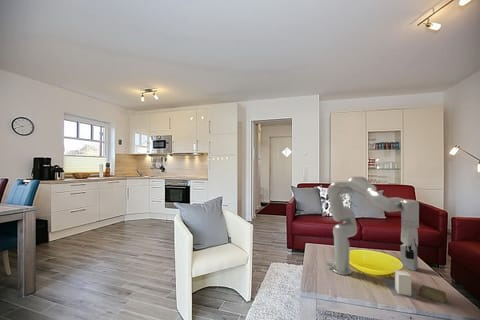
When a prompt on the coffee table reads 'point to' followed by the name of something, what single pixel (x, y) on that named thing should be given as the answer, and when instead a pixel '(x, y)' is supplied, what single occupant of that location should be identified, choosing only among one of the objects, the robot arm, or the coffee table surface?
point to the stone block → (432, 293)
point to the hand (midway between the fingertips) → (409, 258)
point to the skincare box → (409, 263)
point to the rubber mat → (391, 286)
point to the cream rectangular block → (403, 282)
